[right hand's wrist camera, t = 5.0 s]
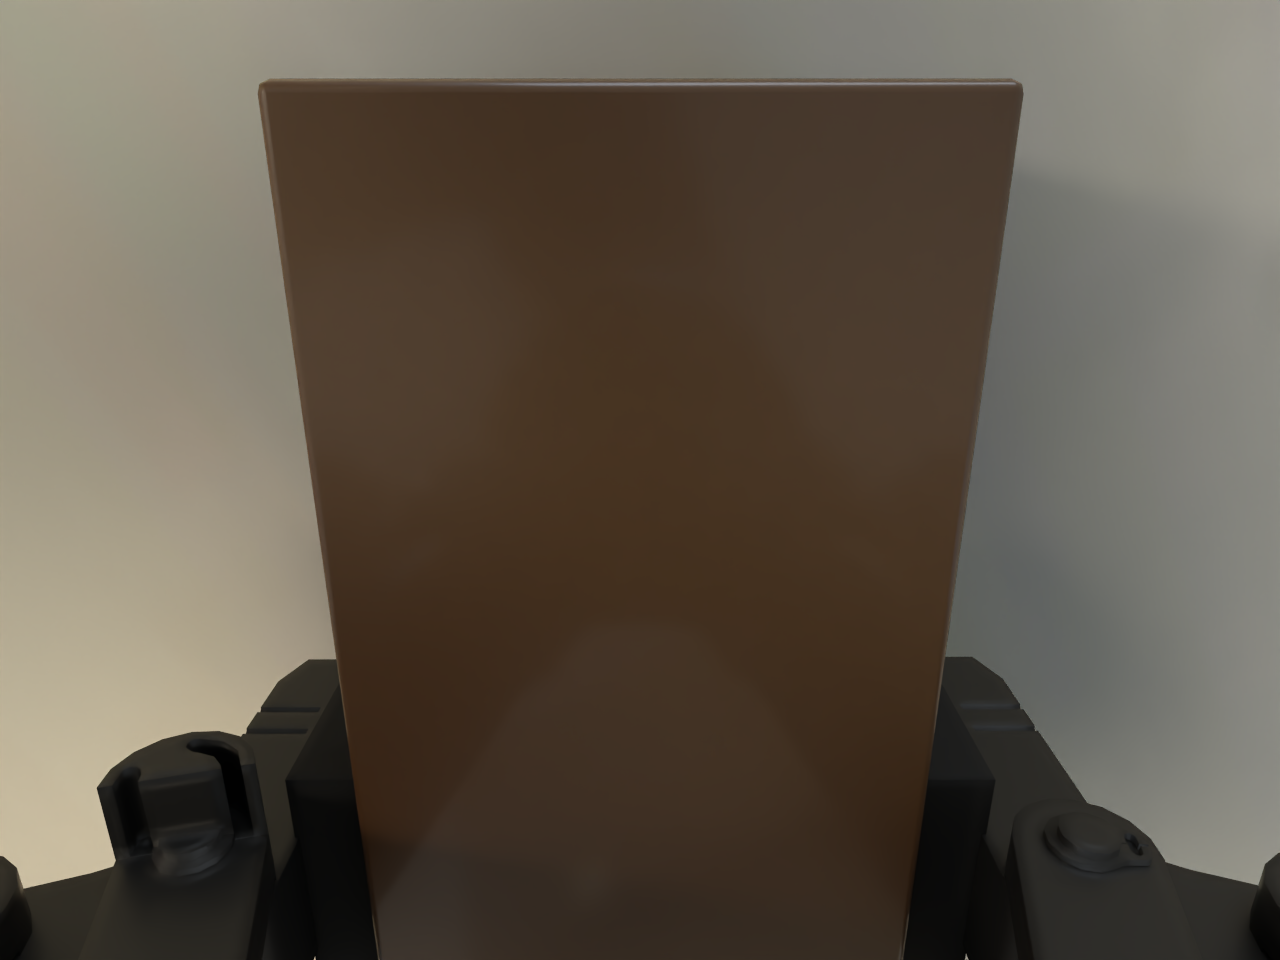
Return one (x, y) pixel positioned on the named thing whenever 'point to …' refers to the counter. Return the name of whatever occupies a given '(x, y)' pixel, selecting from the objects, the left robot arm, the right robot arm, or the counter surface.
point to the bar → (640, 491)
